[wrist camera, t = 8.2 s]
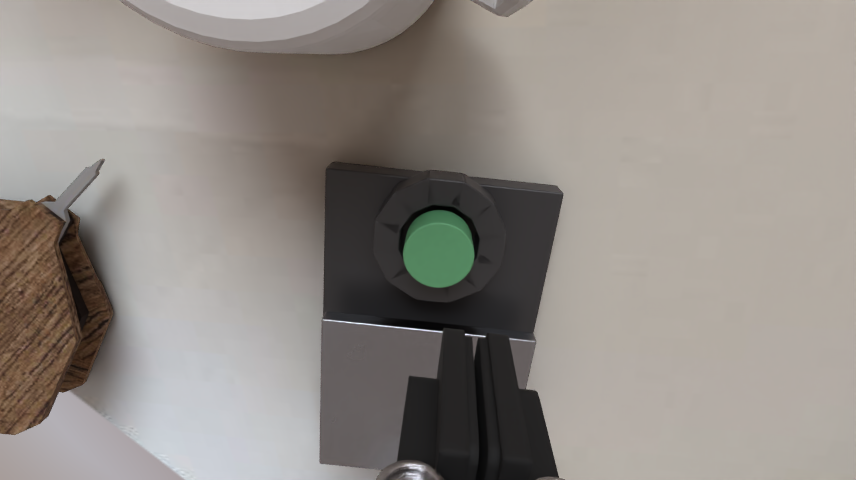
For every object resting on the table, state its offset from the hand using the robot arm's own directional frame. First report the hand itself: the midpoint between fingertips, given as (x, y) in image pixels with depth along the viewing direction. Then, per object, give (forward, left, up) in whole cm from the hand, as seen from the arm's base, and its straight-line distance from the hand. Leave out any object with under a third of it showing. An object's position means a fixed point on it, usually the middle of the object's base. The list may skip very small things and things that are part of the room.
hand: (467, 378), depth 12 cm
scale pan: (+9, -1, -9) cm, 13 cm away
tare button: (0, -1, -10) cm, 10 cm away
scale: (+6, -1, -12) cm, 13 cm away
